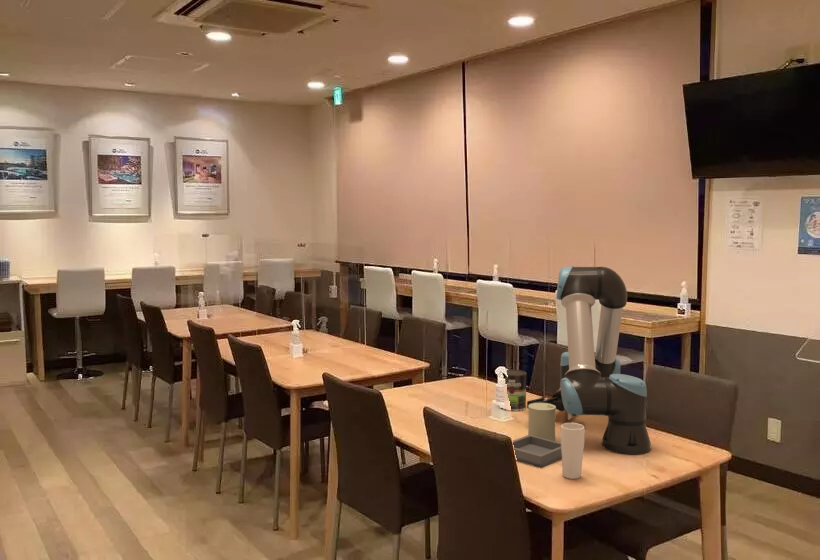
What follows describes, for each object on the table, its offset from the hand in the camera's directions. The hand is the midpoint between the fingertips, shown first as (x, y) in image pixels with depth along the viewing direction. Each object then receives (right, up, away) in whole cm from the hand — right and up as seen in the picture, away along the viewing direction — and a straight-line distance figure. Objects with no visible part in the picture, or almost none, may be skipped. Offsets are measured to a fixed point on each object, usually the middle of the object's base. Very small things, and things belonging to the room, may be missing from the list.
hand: (549, 413), depth 256 cm
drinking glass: (-1, -11, -42) cm, 43 cm away
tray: (-9, -9, -24) cm, 27 cm away
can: (-4, -8, -8) cm, 12 cm away
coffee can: (-8, -4, +31) cm, 33 cm away
